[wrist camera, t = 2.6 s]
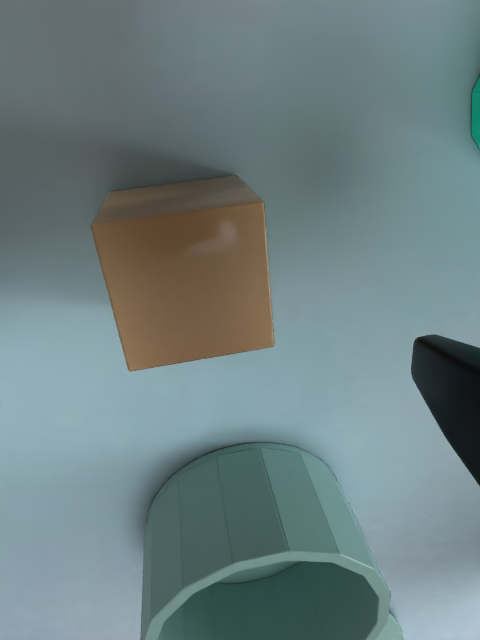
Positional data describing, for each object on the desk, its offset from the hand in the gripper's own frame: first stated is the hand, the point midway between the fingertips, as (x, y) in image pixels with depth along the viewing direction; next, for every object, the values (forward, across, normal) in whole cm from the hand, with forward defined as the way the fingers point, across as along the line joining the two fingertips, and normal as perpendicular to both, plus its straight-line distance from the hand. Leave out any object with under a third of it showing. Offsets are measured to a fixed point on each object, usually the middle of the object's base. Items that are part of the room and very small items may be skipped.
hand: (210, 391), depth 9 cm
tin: (+10, -1, +17) cm, 20 cm away
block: (+10, 0, 0) cm, 10 cm away
